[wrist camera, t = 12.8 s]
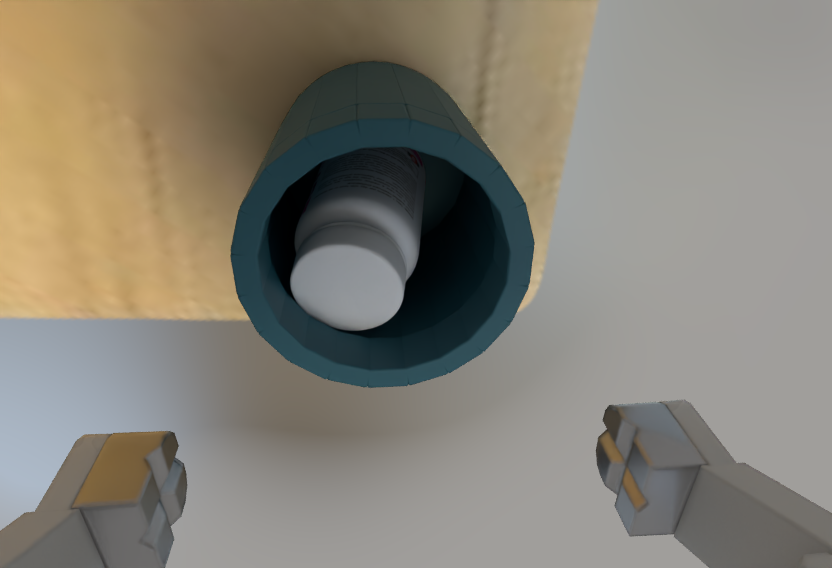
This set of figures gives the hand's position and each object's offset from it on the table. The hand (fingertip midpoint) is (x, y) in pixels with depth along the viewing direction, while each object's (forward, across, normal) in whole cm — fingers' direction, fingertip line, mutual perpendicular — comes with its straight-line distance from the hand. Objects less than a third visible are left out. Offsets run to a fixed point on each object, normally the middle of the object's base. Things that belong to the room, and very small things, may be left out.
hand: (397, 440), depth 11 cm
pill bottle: (+17, 0, 0) cm, 17 cm away
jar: (+18, 0, 0) cm, 18 cm away
